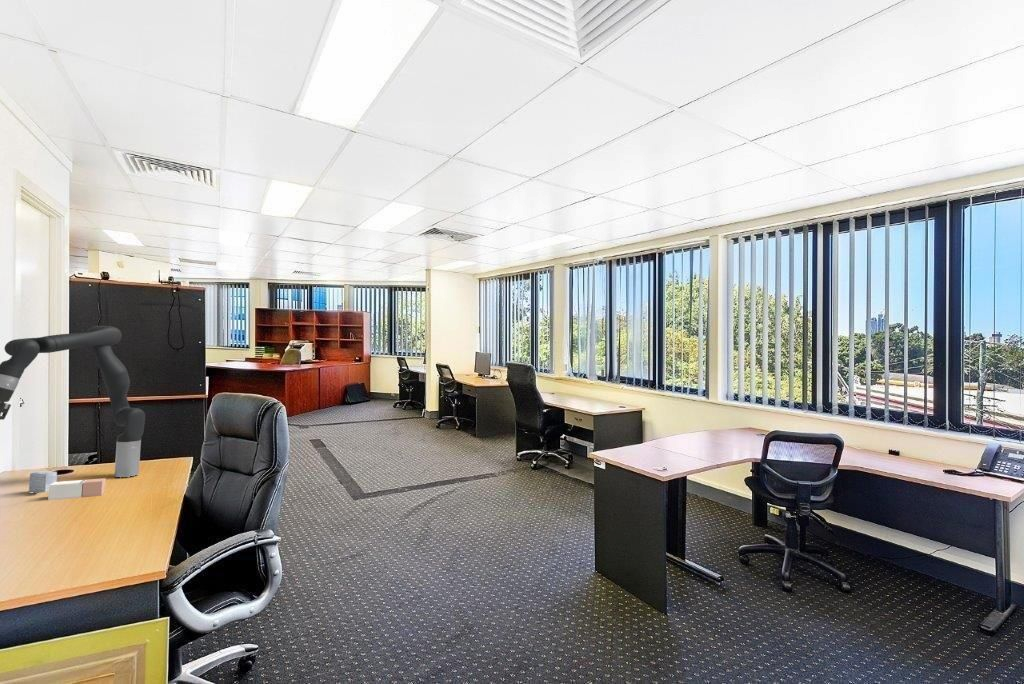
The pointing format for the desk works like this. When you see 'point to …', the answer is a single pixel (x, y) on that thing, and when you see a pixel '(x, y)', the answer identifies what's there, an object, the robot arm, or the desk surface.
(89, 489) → the pink cube block
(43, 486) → the medicine box
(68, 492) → the ticket block
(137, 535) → the desk surface
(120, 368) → the robot arm
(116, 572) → the desk surface
